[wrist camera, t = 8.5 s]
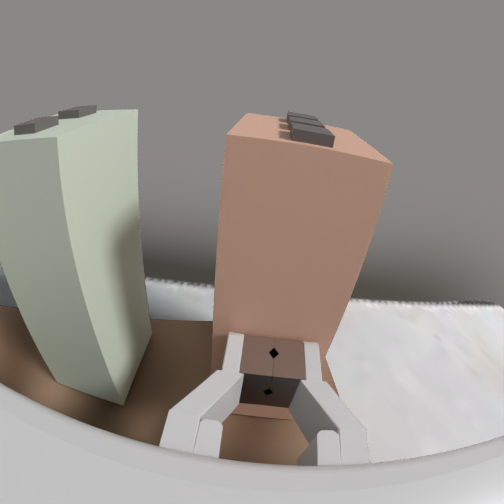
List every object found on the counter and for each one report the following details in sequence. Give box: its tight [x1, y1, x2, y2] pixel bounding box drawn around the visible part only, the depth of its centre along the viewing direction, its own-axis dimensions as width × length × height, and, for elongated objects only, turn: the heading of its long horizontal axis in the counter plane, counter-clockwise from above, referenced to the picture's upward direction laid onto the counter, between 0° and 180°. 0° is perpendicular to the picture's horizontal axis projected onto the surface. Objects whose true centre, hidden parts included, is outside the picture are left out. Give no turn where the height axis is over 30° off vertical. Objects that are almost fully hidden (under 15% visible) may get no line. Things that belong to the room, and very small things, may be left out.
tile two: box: [0, 105, 152, 405], centre depth 11 cm, size 5×4×12 cm
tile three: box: [211, 112, 393, 420], centre depth 12 cm, size 5×4×12 cm
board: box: [0, 305, 339, 465], centre depth 12 cm, size 25×13×1 cm, turn 97°
